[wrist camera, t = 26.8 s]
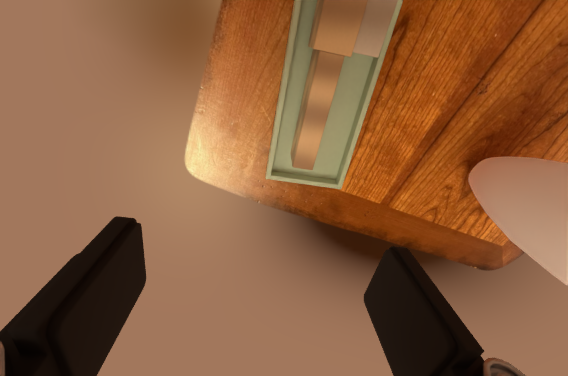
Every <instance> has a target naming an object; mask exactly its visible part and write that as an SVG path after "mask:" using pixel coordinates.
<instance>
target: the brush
mask: <svg viewBox="0 0 568 376" xmlns="http://www.w3.org/2000/svg"><path fill="white" fill-rule="evenodd" d="M397 2H398V0H317V4H316V9H315V14H314V19H313V23H312V28H311V33H310V38H309V43H308V47H310V48H313V52H312V56H311V61H310V65H309V70H308V74H307V79H306V83H305V88H304V92H303V97H302V102H301V106H300V111H299V115H298V120H297V124H296V129H295V133H294V138H293V143H292V147H291V152H290V154H291V160H292V166H293V168H300V169H307V170H313V167H314V163H315V160H316V156H317V153H318V149H319V146H320V142H321V139H322V135H323V131H324V128H325V124H326V121H327V117H328V114H329V110H330V107H331V103H332V100H333V96H334V93H335V89H336V86H337V82H338V79H339V75H340V71H341V68H342V64H343V61H344V57H345V56H348V57H351V56H352V53H353V52H354V53H358V54H363V55H367V56H372V57H376V58H378V56H379V54H380V51H381V48H382V45H383V42H384V39H385V36H386V33H387V31H388V28H389V25H390V22H391V19H392V16H393V13H394V10H395V8H396V5H397Z"/></svg>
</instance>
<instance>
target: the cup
mask: <svg viewBox="0 0 568 376" xmlns="http://www.w3.org/2000/svg"><path fill="white" fill-rule="evenodd" d="M468 181H469V184H470V187H471V189H472V191H473V193H474V195H475V197H476V199H477V200H478V202H479V203H480V205H481V206H482V208H483V209H484V211H485V212H486V214H487V215H488V216H489V217H490V218H491V219H492V220H493V221H494V223H495V224H496V225H497V226H498V227H499V228H500V229H501V230H502V231H503V233H504V234H505V235H506V236H507V237H508V238H509V239H510V240H511V241H512V242H513V243H514V244H515V245H517V246H518V247H519V248H520V249H521V250H523V251H524V252H525V253H527V254H528V255H529V256H530V257H531V258H532V259H534V260H535V261H536V262H537V263H539V264H540V265H541V266H542V267H543V268H545V269H546V270H547V271H548V272H550V273H551V274H552V275H553V276H555V277H556V278H557V279H559V280H560V281H562V282H563V283H564V284H566V285H567V286H568V163H564V162H558V161H552V160H546V159H540V158H529V157H510V156H507V157H492V158H487V159H484V160H483V161H481V162H479V163H478V164H477V165H476V166H475V167H474V168H473V169H472V171H471V172H470V174H469V179H468Z"/></svg>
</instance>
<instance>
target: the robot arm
mask: <svg viewBox="0 0 568 376" xmlns="http://www.w3.org/2000/svg"><path fill="white" fill-rule="evenodd" d="M145 282H146V270H145V260H144V249H143V239H142V228H141V224H140V223H137V222H136V220H135V219H134V218H126V217H114V218H113V219H112V220H111V221H110V222H109V223H108V225H106V227H105V228H104V229H103V230H102V231H101V232H100V233H99V234H98V235H97V236H96V237H95V238H94V239H93V240H92V241H91V242H90V243H89V244H88V245H87V246H86V247H85V249H84V250H83V251H82V252H81V253H79V254H76V255H75V256H74V257H73V258H71V259H70V261H68V262H67V264H66V265H65V266H64V267H63V268H62V269H61V270H60V271H59V272H58V273H57V274H56V275H55V276H54V277H53V278H52V279H51V280H50V281H49V282H48V283H47V284H46V285H45V286H44V287H43V288H42V289H41V290H40V291H39V292H38V293H37V294H36V296H34V297H33V298H32V299H31V300H30V302H29V303H28V304H27V305H26V306H25V307H24V308H23V309H22V310H21V311H20V312H19V313H18V314H17V315H16V316H15V317H14V318H13V319H12V320H11V321H10V322H9V323H8V324H7V325H6V326H5V327H4V328H3V329H2V330H1V331H0V376H97V374H98V372H99V370H100V368H101V367H102V365H103V363H104V361H105V359H106V357H107V355H108V353H109V352H110V350H111V348H112V346H113V344H114V342H115V340H116V338H117V336H118V335H119V333H120V331H121V329H122V327H123V325H124V323H125V322H126V320H127V318H128V316H129V314H130V312H131V310H132V308H133V307H134V305H135V303H136V301H137V299H138V297H139V295H140V294H141V292H142V290H143V288H144V286H145ZM364 303H365V306H366V308H367V311H368V313H369V316H370V318H371V321H372V323H373V325H374V328H375V331H376V333H377V335H378V338H379V341H380V343H381V346H382V348H383V350H384V353H385V355H386V358H387V360H388V363H389V365H390V368H391V370H392V373H393V375H394V376H525V375H524V374H523V373H522V372H521V371H520V370H518V369H517V368H515V367H514V366H512V365H511V364H509V363H507V362H505V361H503V360H500V359H497V358H488V359H486V360H485V361H484V360H483V358H482V357H481V356H480V355H481V354H482V353H483V352H484V350H483V349H482V347H481V346H480V345H479V343H478V342H477V341H476V339H475V338H474V337H473V335H472V334H471V333H470V331H469V330H468V329H467V327H466V326H465V325H464V323H463V322H462V321H461V319H460V318H459V317H458V315H457V314H456V313H455V311H454V310H453V309H452V307H451V306H450V304H449V303H448V302H447V301H446V299H445V298H444V296H443V295H442V294H441V293H440V291H439V290H438V288H437V287H436V286H435V284H434V283H433V282H432V281H431V279H430V278H429V276H428V275H427V274H426V273H425V271H424V270H423V268H422V267H421V266H420V264H419V263H418V262H417V260H416V259H415V258H414V256H413V255H412V254H411V252H410V251H409V250H408V249H407V248H404V247H394V246H393V247H390V248H389V249H388V250H386V251H385V252H384V254H383V257H382V259H381V261H380V263H379V265H378V267H377V269H376V271H375V273H374V275H373V278H372V279H371V282H370V284H369V286H368V288H367V290H366V292H365V294H364Z"/></svg>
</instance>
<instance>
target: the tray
mask: <svg viewBox="0 0 568 376" xmlns="http://www.w3.org/2000/svg"><path fill="white" fill-rule="evenodd" d="M402 2H403V0H398V2H397V5H396V8H395V10H394V13H393V16H392V19H391V22H390V25H389V28H388V31H387V33H386V36H385V39H384V42H383V45H382V48H381V51H380V54H379V56H378V58H376V57H372V56H367V55H363V54H358V53H354V52H353V53H352V56H351V57H348V56H345V57H344V61H343V64H342V68H341V71H340V75H339V79H338V82H337V86H336V89H335V93H334V96H333V100H332V103H331V107H330V110H329V114H328V117H327V121H326V124H325V128H324V131H323V135H322V139H321V142H320V146H319V149H318V153H317V156H316V160H315V163H314V167H313V170H307V169H300V168H293V166H292V160H291V154H290V152H291V147H292V143H293V138H294V133H295V129H296V124H297V120H298V115H299V111H300V106H301V102H302V97H303V92H304V88H305V83H306V79H307V74H308V70H309V65H310V61H311V56H312V52H313V48H310V47H308V43H309V38H310V33H311V28H312V23H313V19H314V14H315V9H316V4H317V0H294V4H293V10H292V16H291V22H290V29H289V35H288V41H287V47H286V53H285V59H284V65H283V71H282V77H281V83H280V89H279V95H278V101H277V107H276V113H275V119H274V125H273V131H272V137H271V143H270V149H269V155H268V161H267V167H266V179H271V180H279V181H286V182H293V183H300V184H307V185H314V186H322V187H329V188H336V189H341V188H342V185H343V182H344V179H345V176H346V173H347V170H348V167H349V163H350V160H351V157H352V154H353V151H354V148H355V145H356V142H357V139H358V136H359V133H360V130H361V127H362V124H363V121H364V118H365V115H366V112H367V109H368V106H369V103H370V99H371V96H372V93H373V90H374V87H375V84H376V81H377V78H378V75H379V72H380V69H381V66H382V63H383V60H384V57H385V54H386V51H387V48H388V45H389V42H390V39H391V35H392V32H393V29H394V26H395V23H396V20H397V17H398V14H399V11H400V8H401V5H402Z"/></svg>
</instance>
